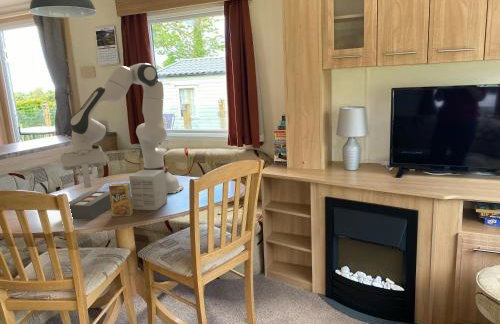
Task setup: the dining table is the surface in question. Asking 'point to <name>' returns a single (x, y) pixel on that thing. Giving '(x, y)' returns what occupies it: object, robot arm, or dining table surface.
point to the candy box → (120, 199)
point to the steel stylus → (86, 175)
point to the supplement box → (148, 189)
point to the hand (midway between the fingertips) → (86, 174)
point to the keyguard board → (90, 205)
